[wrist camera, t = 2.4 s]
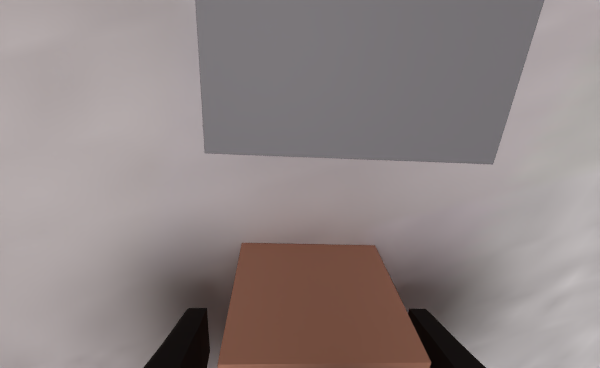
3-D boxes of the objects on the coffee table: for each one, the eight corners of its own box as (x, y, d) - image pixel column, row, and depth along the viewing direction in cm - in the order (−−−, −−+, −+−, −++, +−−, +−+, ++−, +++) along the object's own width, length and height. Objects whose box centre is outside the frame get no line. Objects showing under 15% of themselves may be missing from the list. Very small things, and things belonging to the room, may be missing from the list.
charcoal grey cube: (397, 112, 10) (493, 164, 6) (240, 104, 10) (204, 153, 5) (431, -82, 8) (620, -244, 4) (237, -101, 8) (177, -307, 3)
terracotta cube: (357, 339, 14) (394, 480, 9) (243, 340, 14) (224, 486, 9) (374, 244, 12) (431, 362, 8) (242, 241, 12) (217, 364, 7)
